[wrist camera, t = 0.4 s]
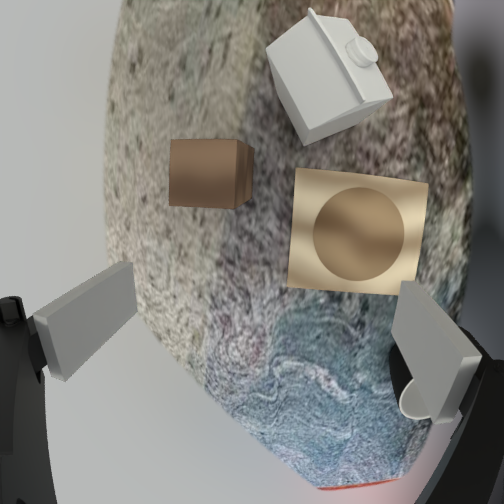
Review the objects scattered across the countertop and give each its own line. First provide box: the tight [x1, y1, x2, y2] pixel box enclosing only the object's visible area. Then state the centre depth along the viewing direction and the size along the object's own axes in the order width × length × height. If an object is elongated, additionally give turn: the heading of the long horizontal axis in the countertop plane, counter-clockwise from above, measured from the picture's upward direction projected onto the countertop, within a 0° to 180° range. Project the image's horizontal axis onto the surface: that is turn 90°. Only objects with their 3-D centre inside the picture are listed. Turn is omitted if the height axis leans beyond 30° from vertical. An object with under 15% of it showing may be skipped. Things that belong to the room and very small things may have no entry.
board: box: [287, 168, 428, 295], centre depth 35 cm, size 14×16×2 cm
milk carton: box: [266, 8, 393, 146], centre depth 24 cm, size 7×7×19 cm
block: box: [169, 139, 254, 209], centre depth 31 cm, size 6×6×11 cm
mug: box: [389, 343, 430, 419], centre depth 34 cm, size 12×9×10 cm
